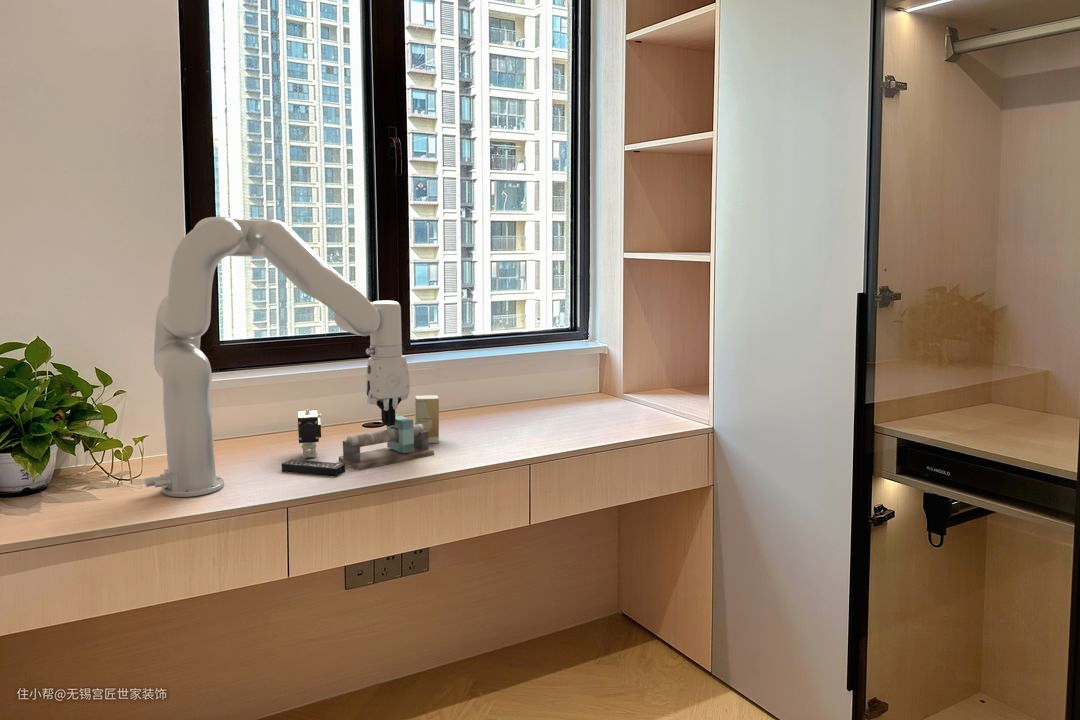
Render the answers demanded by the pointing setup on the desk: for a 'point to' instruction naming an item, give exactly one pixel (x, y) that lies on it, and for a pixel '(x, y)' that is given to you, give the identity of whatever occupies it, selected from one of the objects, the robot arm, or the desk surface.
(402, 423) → the collar
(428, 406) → the skincare box
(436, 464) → the desk surface
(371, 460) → the pipe stand
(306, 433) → the pneumatic valve
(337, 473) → the multiport hub
